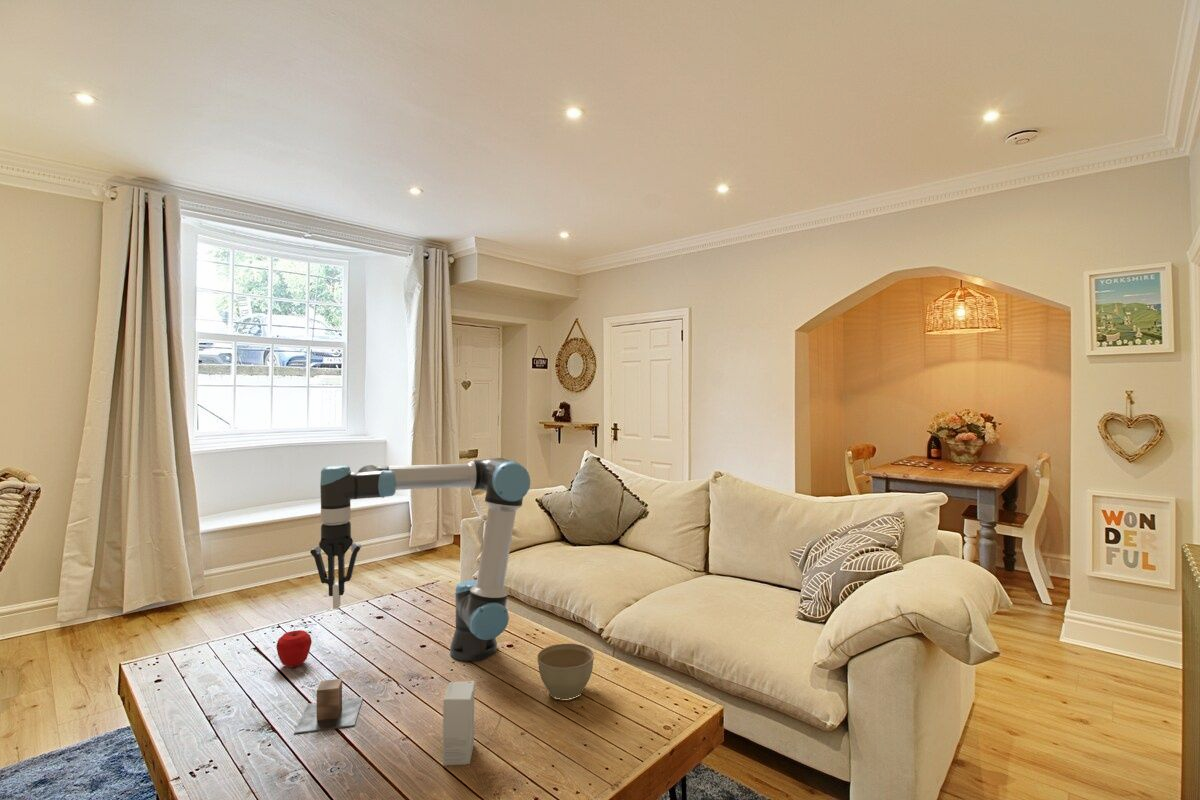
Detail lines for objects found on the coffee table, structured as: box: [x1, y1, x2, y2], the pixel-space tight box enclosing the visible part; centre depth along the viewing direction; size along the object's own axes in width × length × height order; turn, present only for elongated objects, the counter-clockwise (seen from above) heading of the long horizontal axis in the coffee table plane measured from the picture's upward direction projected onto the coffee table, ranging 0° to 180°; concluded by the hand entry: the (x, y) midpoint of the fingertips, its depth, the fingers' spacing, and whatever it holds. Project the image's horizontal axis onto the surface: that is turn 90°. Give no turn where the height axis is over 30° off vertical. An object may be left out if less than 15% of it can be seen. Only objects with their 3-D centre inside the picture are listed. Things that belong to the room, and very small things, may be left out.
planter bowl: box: [537, 642, 595, 699], centre depth 164 cm, size 16×16×11 cm
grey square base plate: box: [293, 696, 363, 735], centre depth 152 cm, size 14×14×6 cm
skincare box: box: [442, 680, 476, 767], centre depth 135 cm, size 8×7×16 cm
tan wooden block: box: [316, 678, 343, 721], centre depth 152 cm, size 5×5×8 cm
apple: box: [275, 629, 312, 668], centre depth 181 cm, size 10×10×11 cm
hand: (336, 606), depth 160 cm, fingers closed
